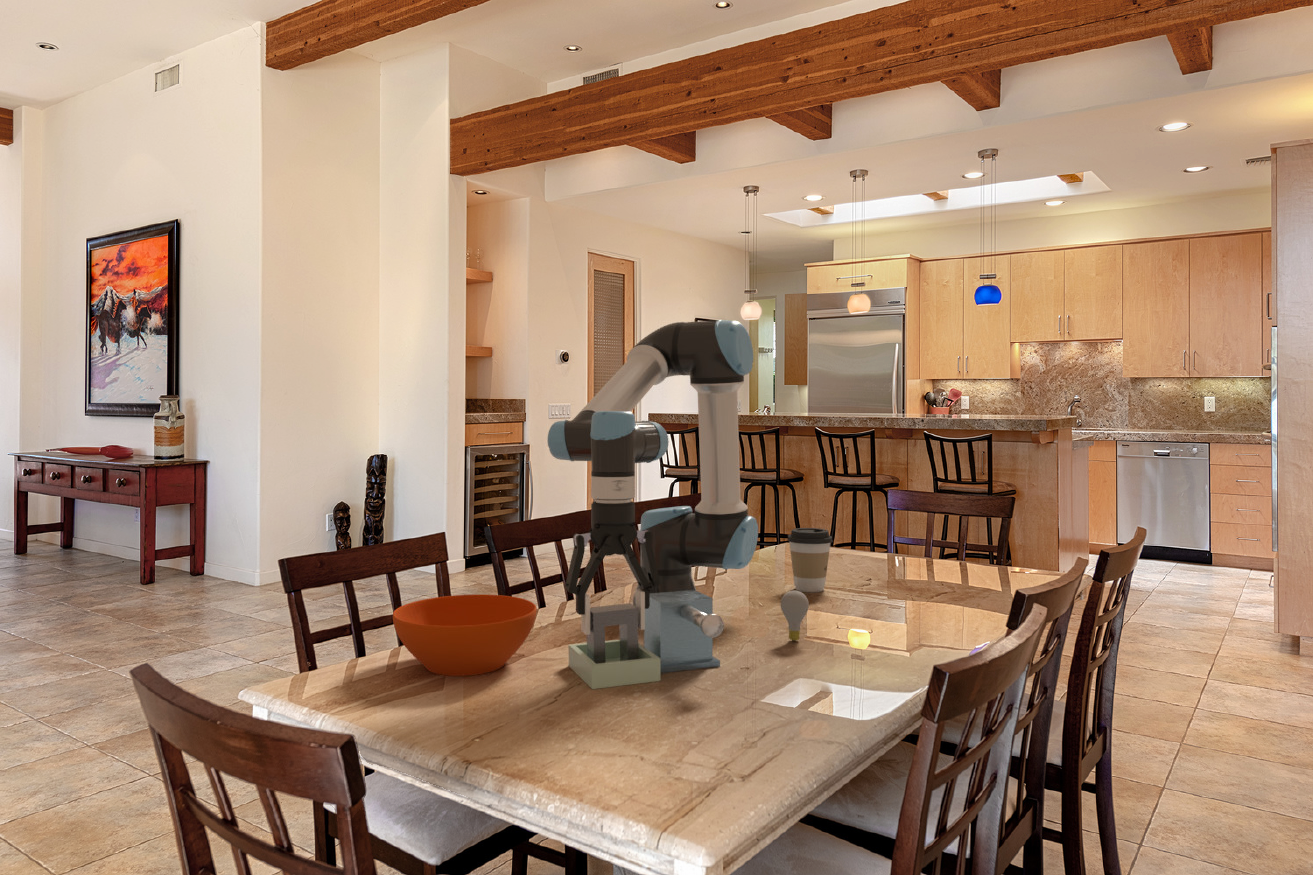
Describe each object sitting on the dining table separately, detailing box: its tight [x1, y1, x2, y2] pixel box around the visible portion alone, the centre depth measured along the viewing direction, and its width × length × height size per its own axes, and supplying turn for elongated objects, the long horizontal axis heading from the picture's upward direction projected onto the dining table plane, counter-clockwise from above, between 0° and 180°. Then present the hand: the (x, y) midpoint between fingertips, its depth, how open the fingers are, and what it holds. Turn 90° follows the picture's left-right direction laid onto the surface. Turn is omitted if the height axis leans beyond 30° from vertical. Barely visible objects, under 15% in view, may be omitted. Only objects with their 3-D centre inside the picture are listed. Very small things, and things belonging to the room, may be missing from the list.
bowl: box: [392, 594, 538, 677], centre depth 159 cm, size 25×25×10 cm
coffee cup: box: [787, 527, 834, 593], centre depth 225 cm, size 11×11×15 cm
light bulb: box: [780, 589, 810, 642], centre depth 175 cm, size 6×6×10 cm
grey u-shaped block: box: [586, 602, 639, 664], centre depth 154 cm, size 4×8×10 cm, turn 112°
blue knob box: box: [643, 589, 725, 674], centre depth 156 cm, size 20×12×12 cm, turn 22°
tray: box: [568, 639, 661, 690], centre depth 154 cm, size 14×12×4 cm
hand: (613, 630), depth 154 cm, fingers open, 9 cm apart
